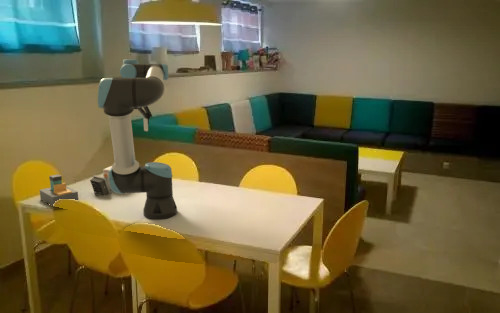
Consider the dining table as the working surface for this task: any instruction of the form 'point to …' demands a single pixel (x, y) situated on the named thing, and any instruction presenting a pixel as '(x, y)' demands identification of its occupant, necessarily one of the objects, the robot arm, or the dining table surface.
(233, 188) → the dining table surface
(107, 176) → the ink box
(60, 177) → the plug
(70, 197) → the socket
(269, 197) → the dining table surface
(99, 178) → the electrical switch
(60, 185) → the panel
